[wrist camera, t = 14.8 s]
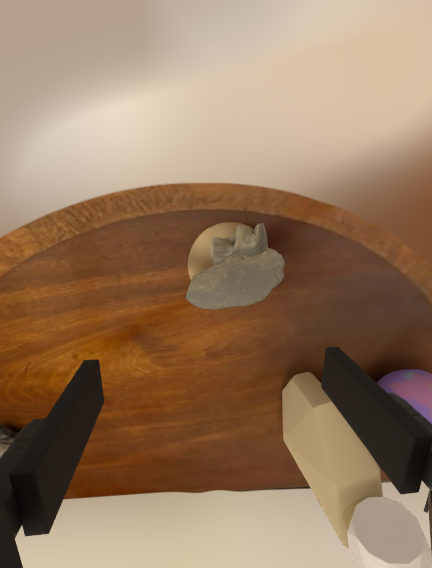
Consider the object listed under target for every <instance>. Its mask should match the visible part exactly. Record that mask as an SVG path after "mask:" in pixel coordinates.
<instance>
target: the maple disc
mask: <svg viewBox="0 0 432 568" xmlns="http://www.w3.org/2000/svg"><path fill="white" fill-rule="evenodd" d="M238 226H243V227H244V228H245V227H248V228H249V230H250V231H253V230H254V229H253V228H251V227H249V226H247V225H244V224H241V223H237V222H223V223H218V224H215V225H213V226H211V227H209V228H207V229H206V230H204V231H203V232H202V233H201V234H200V235H199V236H198V237H197V238H196V240H195V241H194V243H193V245H192V247H191V249H190V253H189V257H188V271H189V276H190V279H192V277H193V276H194V275H196V274H198V273H200V272H202V271H204V270H205V269H207V268H210V267H211V266H213V265H214V263H213V261H212V258H211V247H210V240H211V238H215V237H220V238H227V239H228V238H229V237H231V236H233V235H234V234H235V232H236V227H238ZM267 248H268V246H267Z"/></svg>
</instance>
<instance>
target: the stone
mask: <svg viewBox="0 0 432 568" xmlns="http://www.w3.org/2000/svg"><path fill="white" fill-rule="evenodd" d="M18 433H19V432H15V431H12V430H11V429H9V428H8V427H6V426H4V425H0V458H1V456H2V455H3V454H4V452H5V451H7V448H8V447H9V445H10V444H11V443H12V442H13V441H14V439H15V437H16V436H17V435H18Z"/></svg>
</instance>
